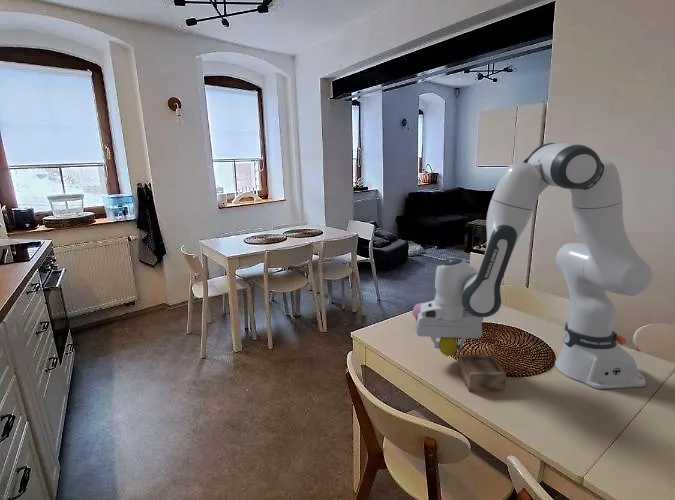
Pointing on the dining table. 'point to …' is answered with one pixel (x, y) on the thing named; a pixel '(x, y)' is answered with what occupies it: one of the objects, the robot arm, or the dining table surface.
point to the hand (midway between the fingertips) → (447, 348)
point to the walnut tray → (481, 373)
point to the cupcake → (416, 310)
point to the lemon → (447, 345)
